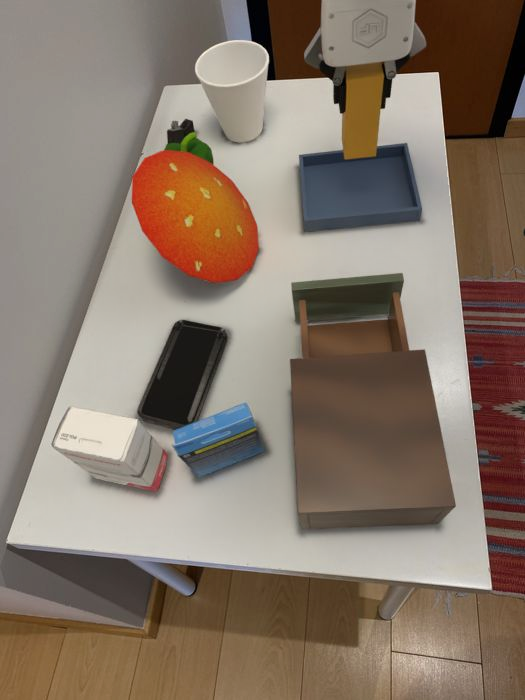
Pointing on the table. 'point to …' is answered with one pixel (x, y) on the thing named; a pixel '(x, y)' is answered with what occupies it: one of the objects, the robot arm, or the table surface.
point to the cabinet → (368, 442)
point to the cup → (236, 86)
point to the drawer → (350, 315)
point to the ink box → (111, 448)
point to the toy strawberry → (195, 216)
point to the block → (362, 110)
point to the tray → (358, 189)
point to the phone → (183, 374)
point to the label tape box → (218, 440)
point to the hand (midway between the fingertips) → (361, 103)
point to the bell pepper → (192, 147)
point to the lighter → (179, 131)
